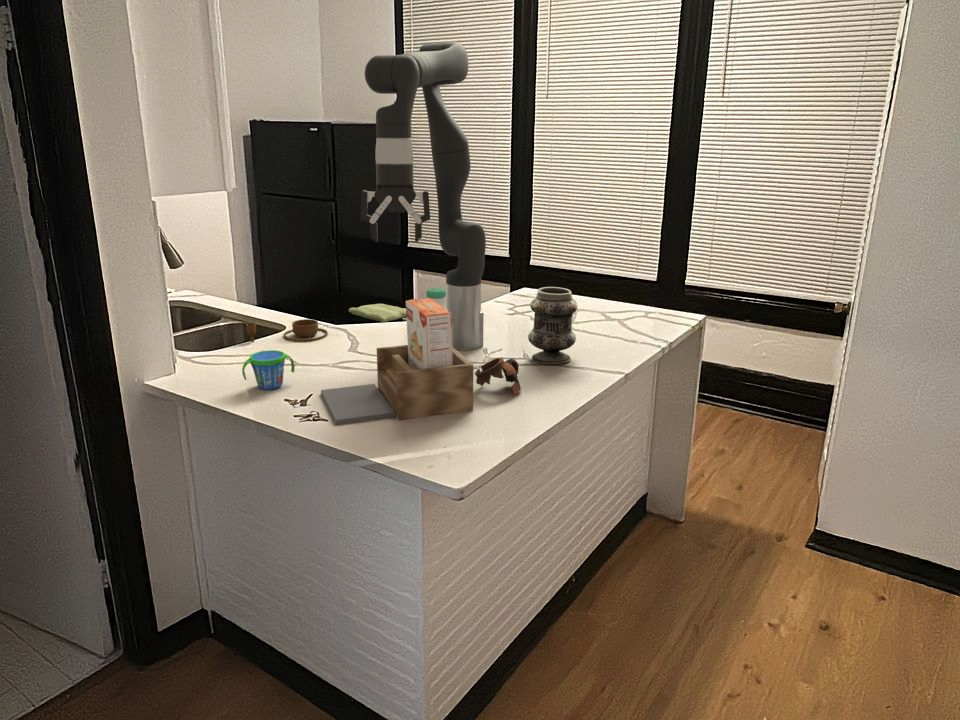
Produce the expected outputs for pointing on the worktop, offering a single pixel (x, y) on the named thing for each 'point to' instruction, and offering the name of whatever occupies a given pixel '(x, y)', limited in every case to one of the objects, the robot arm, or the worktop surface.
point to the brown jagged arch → (499, 372)
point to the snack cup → (268, 368)
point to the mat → (356, 404)
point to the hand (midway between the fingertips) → (396, 241)
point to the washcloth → (379, 312)
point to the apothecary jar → (552, 325)
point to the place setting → (295, 330)
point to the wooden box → (425, 386)
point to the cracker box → (428, 334)
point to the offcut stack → (397, 367)
